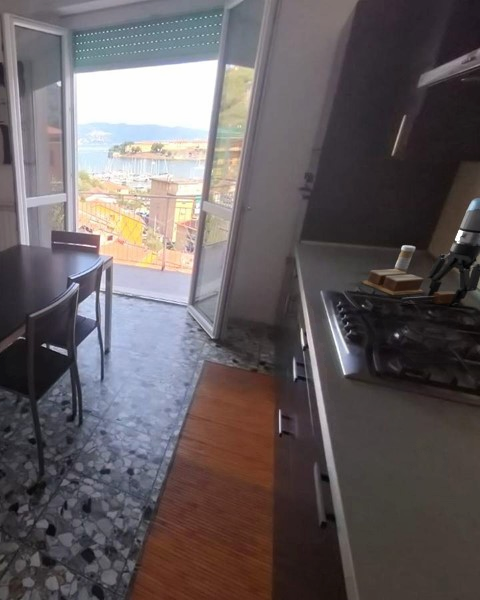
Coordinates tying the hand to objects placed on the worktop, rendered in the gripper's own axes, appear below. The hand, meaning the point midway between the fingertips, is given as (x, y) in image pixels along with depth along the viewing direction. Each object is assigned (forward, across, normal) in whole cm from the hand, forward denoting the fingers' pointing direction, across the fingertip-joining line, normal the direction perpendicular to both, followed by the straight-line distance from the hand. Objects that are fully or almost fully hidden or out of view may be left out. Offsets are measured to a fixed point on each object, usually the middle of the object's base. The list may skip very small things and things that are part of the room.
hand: (442, 301), depth 136 cm
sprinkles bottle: (+1, -30, +14) cm, 33 cm away
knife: (0, 0, -7) cm, 8 cm away
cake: (0, -16, -5) cm, 17 cm away
